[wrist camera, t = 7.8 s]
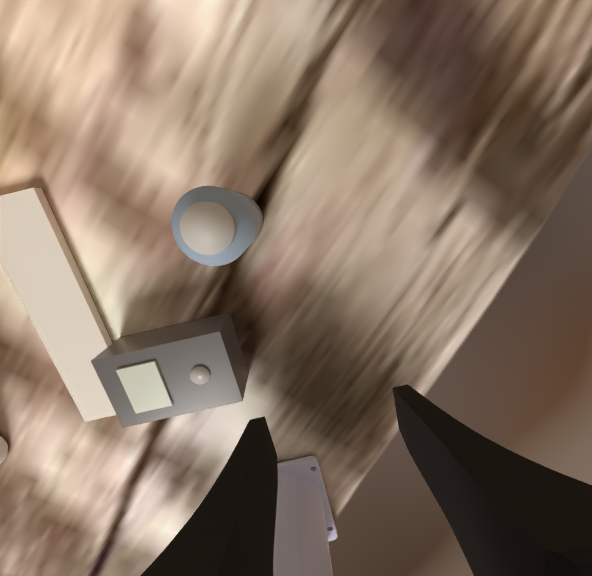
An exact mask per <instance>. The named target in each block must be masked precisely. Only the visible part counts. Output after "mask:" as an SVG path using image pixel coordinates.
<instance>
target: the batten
mask: <svg viewBox="0 0 592 576" xmlns="http://www.w3.org/2000/svg"><path fill="white" fill-rule="evenodd" d="M0 263H1V265H2V267H3V269H4V270H5V272H6V274H7V276H8V278H9V280H10V282H11V284H12V285H13V287H14V289H15V291H16V293H17V295H18V297H19V299H20V300H21V302H22V304H23V306H24V308H25V310H26V312H27V314H28V315H29V317H30V319H31V321H32V323H33V325H34V327H35V329H36V330H37V332H38V334H39V336H40V338H41V340H42V342H43V344H44V345H45V347H46V349H47V351H48V353H49V355H50V357H51V359H52V360H53V362H54V364H55V366H56V368H57V370H58V372H59V374H60V375H61V377H62V379H63V381H64V383H65V385H66V387H67V389H68V390H69V392H70V394H71V396H72V398H73V400H74V402H75V404H76V405H77V407H78V409H79V411H80V413H81V415H82V417H83V419H84V420H85V422H86V421H91V420H95V419H99V418H104V417H108V416H113V415H116V413H115V410H114V408H113V406H112V404H111V402H110V400H109V398H108V396H107V394H106V392H105V390H104V388H103V386H102V383H101V381H100V379H99V377H98V375H97V373H96V371H95V369H94V367H93V365H92V363H91V360H92V359H94V358H95V357H96V356H97V355H99V354H100V353H101V352H102V351H104V350H105V349H106V348H107V347H109V346H110V345H111V344H112V341H111V339H110V337H109V334H108V332H107V330H106V328H105V326H104V323H103V321H102V319H101V317H100V315H99V313H98V310H97V308H96V306H95V304H94V302H93V299H92V297H91V295H90V293H89V291H88V288H87V286H86V284H85V282H84V280H83V278H82V275H81V273H80V271H79V269H78V267H77V264H76V262H75V260H74V258H73V256H72V254H71V251H70V249H69V247H68V245H67V243H66V240H65V238H64V236H63V234H62V232H61V229H60V227H59V225H58V223H57V221H56V219H55V216H54V214H53V212H52V210H51V208H50V205H49V203H48V201H47V199H46V197H45V195H44V192H43V190H42V188H29V189H25V190H21V191H17V192H13V193H9V194H5V195H1V196H0Z"/></svg>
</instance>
